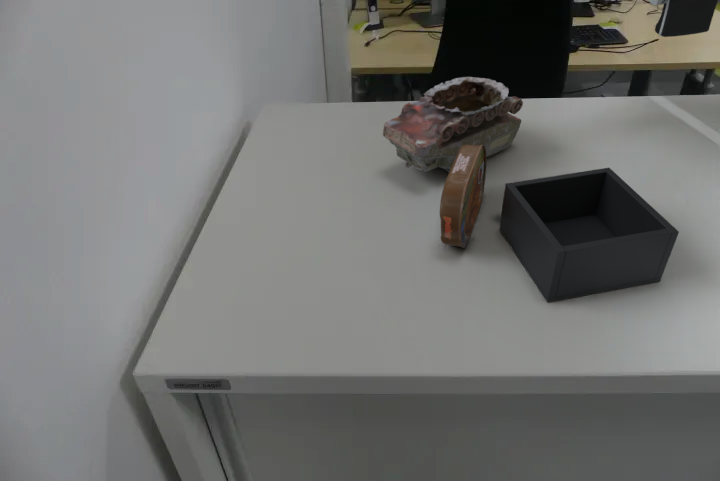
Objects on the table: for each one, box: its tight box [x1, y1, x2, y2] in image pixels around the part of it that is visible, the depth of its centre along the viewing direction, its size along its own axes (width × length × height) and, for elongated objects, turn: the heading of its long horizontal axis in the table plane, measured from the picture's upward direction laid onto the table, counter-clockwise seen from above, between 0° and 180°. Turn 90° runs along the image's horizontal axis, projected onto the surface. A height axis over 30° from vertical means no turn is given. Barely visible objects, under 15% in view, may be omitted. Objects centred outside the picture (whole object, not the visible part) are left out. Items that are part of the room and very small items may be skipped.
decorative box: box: [382, 76, 524, 173], centre depth 76 cm, size 13×20×10 cm, turn 120°
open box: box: [499, 167, 680, 303], centre depth 61 cm, size 13×13×7 cm
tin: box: [439, 145, 487, 248], centre depth 66 cm, size 15×3×8 cm, turn 160°
